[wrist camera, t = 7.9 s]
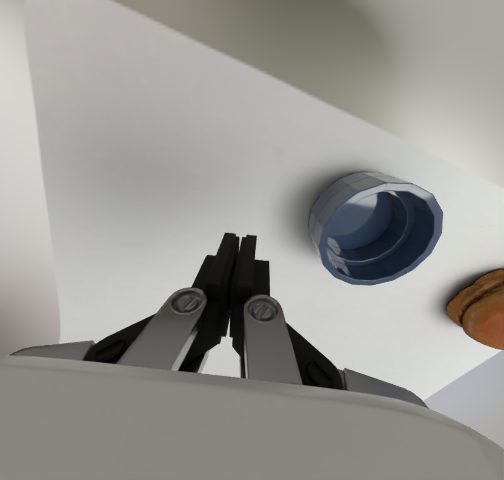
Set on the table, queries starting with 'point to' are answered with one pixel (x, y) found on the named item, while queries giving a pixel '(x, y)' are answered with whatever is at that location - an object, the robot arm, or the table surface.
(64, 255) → the table surface
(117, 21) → the table surface
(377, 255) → the bowl
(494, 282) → the burger
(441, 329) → the table surface
